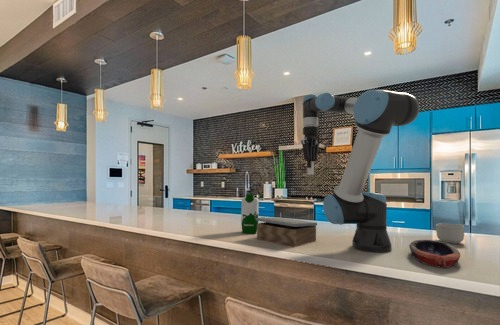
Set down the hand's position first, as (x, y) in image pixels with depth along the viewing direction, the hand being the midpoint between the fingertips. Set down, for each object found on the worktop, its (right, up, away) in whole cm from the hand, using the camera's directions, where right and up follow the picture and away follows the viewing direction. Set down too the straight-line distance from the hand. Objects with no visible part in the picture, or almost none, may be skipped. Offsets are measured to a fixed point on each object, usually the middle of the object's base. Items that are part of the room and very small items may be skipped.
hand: (310, 174), depth 147 cm
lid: (-13, -22, -8) cm, 27 cm away
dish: (+37, -30, -38) cm, 61 cm away
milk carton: (-30, -31, +9) cm, 44 cm away
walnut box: (-13, -30, -8) cm, 34 cm away
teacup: (+62, -31, -9) cm, 70 cm away
